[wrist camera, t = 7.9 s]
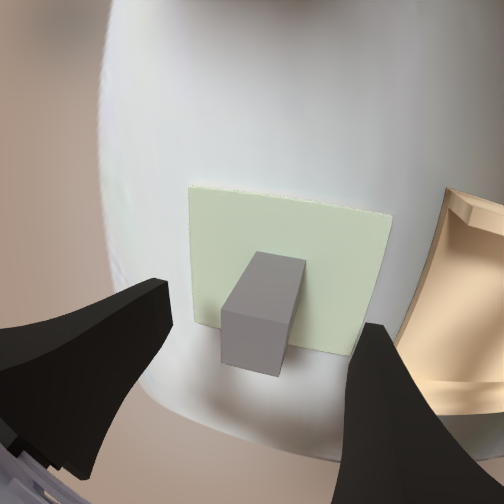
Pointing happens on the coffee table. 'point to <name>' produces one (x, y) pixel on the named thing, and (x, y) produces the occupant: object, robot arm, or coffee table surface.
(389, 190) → the coffee table surface
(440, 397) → the box
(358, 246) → the cover plate
